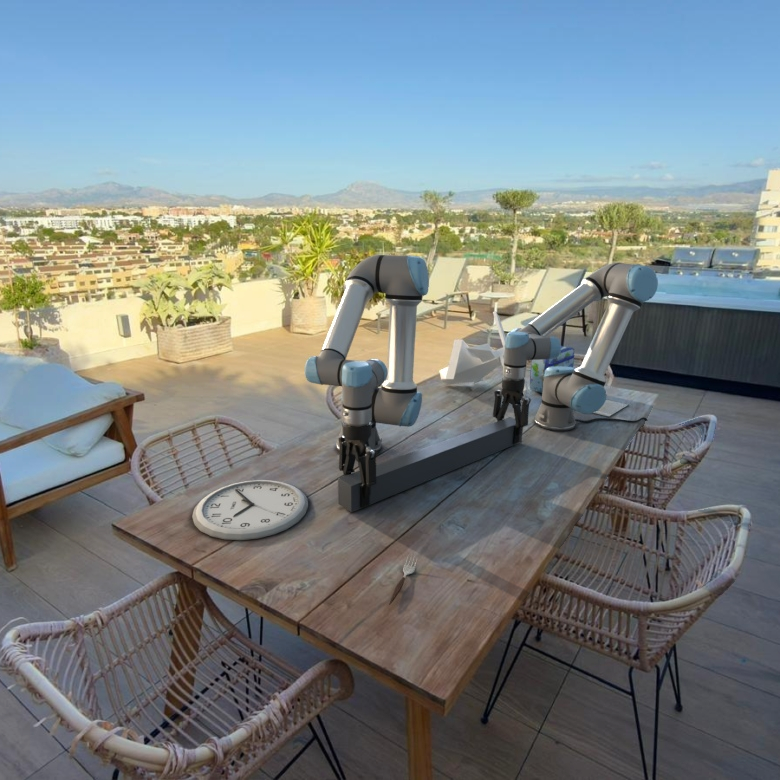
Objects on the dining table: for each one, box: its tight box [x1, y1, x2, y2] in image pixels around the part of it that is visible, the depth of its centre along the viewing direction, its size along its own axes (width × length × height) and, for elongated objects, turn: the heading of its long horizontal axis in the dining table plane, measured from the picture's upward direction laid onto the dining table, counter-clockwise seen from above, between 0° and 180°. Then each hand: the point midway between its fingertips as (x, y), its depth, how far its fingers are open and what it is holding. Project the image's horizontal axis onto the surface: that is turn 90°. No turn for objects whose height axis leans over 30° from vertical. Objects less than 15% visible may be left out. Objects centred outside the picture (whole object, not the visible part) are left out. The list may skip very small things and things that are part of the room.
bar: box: [337, 416, 524, 513], centre depth 163 cm, size 76×6×8 cm, turn 131°
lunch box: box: [529, 345, 575, 394], centre depth 245 cm, size 26×11×21 cm, turn 134°
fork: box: [388, 554, 419, 606], centre depth 112 cm, size 3×16×2 cm, turn 160°
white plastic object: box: [438, 310, 531, 397], centre depth 245 cm, size 37×45×31 cm
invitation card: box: [592, 399, 629, 418], centre depth 226 cm, size 21×1×15 cm
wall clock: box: [191, 479, 309, 541], centre depth 140 cm, size 30×2×30 cm
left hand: (357, 500), depth 142 cm, fingers closed on bar, 6 cm apart
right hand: (508, 440), depth 185 cm, fingers closed on bar, 6 cm apart
